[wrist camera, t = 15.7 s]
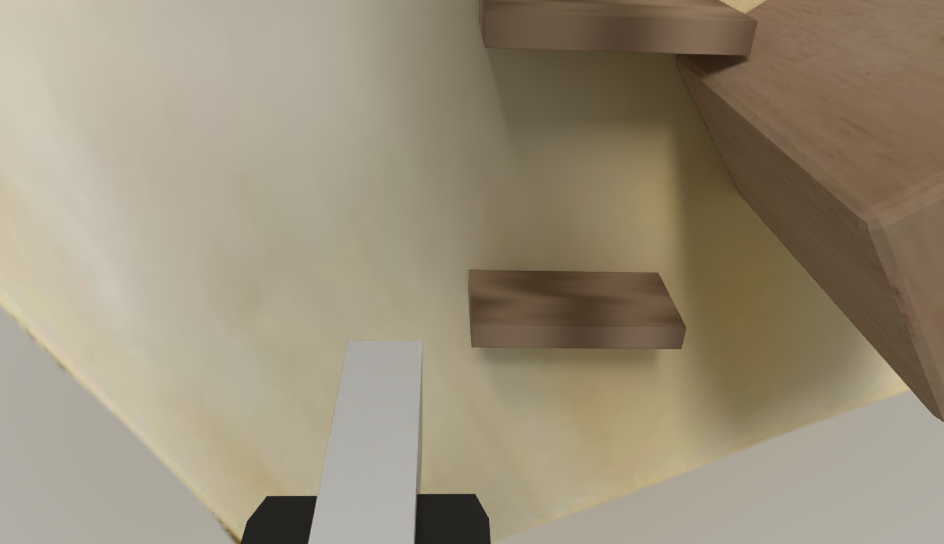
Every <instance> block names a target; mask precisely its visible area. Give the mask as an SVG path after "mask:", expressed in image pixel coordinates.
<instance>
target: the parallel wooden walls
mask: <svg viewBox="0 0 944 544" xmlns="http://www.w3.org/2000/svg"><path fill="white" fill-rule="evenodd" d="M479 22H480V27H481V31H482V36H483V41H484V45H485V48H510V49H544V50H578V51H613V52H647V53H681V54H716V55H750V53H751V48H752V44H753V40H754V36H755V31H756V27H757V23H758V21H757V20H755V19H753V18H751V17H749V16H748V15H746V14H744V13H742V12H740V11H738V10H736V9H734V8H732V7H730V6H729V5H727V4H725V3H723V2H721V1H719V0H480V11H479ZM468 294H469V311H470V328H471V346H472V347H490V348H612V349H681V348H682V344H683V339H684V335H685V331H686V326H685V324H684V322H683V320H682V318H681V316H680V314H679V312H678V310H677V309H676V307H675V305H674V303H673V301H672V299H671V297H670V295H669V293H668V291H667V289H666V287H665V285H664V283H663V281H662V279H661V277H660V276H659V274H658V273H628V272H555V271H481V270H469V286H468Z"/></svg>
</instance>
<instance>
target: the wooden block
mask: <svg viewBox="0 0 944 544" xmlns="http://www.w3.org/2000/svg"><path fill="white" fill-rule="evenodd" d="M746 15H748V16H749V17H751V18H753V19H755V20H757V21H758V23H757V27H756V31H755V36H754V40H753V44H752V48H751V53H750V55H716V54H680V55H679V56H678V57H677V67H678V69H679V71H680V73H681V75H682V77H683V79H684V81H685V83H686V86H687V88H688V90H689V92H690V94H691V96H692V98H693V100H694V102H695V104H696V106H697V108H698V110H699V112H700V114H701V116H702V118H703V120H704V122H705V124H706V126H707V128H708V130H709V132H710V134H711V137H712V139H713V141H714V143H715V145H716V147H717V149H718V151H719V153H720V155H721V157H722V159H723V161H724V163H725V165H726V167H727V169H728V171H729V173H730V175H731V177H732V179H733V181H734V183H735V185H736V188H737V190H738V192H739V194H740V195H741V196H742V198H743V199H744V200H745V201H746V202H747V203H748V204H749V205H750V207H751V208H752V209H753V210H754V211H755V212H756V213H757V215H758V216H759V217H760V218H761V219H762V220H763V221H764V223H765V224H766V225H767V226H768V227H769V228H770V229H771V231H772V232H773V233H774V234H775V235H776V236H777V237H778V239H779V240H780V241H781V242H782V243H783V244H784V245H785V247H786V248H787V249H788V250H789V251H790V252H791V253H792V255H793V256H794V257H795V258H796V259H797V260H798V261H799V263H800V264H801V265H802V266H803V267H804V268H805V269H806V271H807V272H808V273H809V274H810V275H811V276H812V277H813V279H814V280H815V281H816V282H817V283H818V284H819V285H820V287H821V288H822V289H823V290H824V291H825V292H826V293H827V294H828V296H829V297H830V298H831V299H832V300H833V301H834V302H835V304H836V305H837V306H838V307H839V308H840V309H841V310H842V312H843V313H844V314H845V315H846V316H847V317H848V318H849V320H850V321H851V322H852V323H853V324H854V325H855V326H856V328H857V329H858V330H859V331H860V332H861V333H862V334H863V336H864V337H865V338H866V339H867V340H868V341H869V342H870V344H871V345H872V346H873V347H874V348H875V349H876V350H877V352H878V353H879V354H880V355H881V356H882V357H883V358H884V360H885V361H886V362H887V363H888V364H889V365H890V366H891V368H892V369H893V370H894V371H895V372H896V373H897V374H898V375H899V377H900V378H901V379H902V380H903V381H904V382H905V383H906V385H907V386H908V387H909V388H910V389H911V390H912V391H913V393H914V394H915V395H916V396H917V397H918V398H919V399H920V401H921V402H922V403H923V404H924V405H925V406H926V407H927V409H928V410H929V411H930V412H931V413H932V414H933V415H934V416H935V417H937V418H938V419H940V420H941V421H943V422H944V0H767V1H765V2H764V3H762V4H760V5H759V6H757V7H755V8H754V9H752V10H751V11H749V12H747V13H746Z"/></svg>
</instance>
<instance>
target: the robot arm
mask: <svg viewBox="0 0 944 544" xmlns="http://www.w3.org/2000/svg"><path fill="white" fill-rule="evenodd" d="M421 460H422V341H348V343H347V348H346V354H345V359H344V364H343V369H342V374H341V379H340V384H339V389H338V394H337V399H336V405H335V410H334V415H333V420H332V425H331V430H330V435H329V440H328V445H327V450H326V455H325V461H324V466H323V471H322V476H321V481H320V486H319V491H318V496H267V497H266V498H265V499H264V501H263V502H262V503H261V504H260V506H259V507H258V508H257V509H256V511H255V512H254V513H253V515H252V516H251V517H250V518H249V520H248V521H247V524H246V527H245V530H244V534H243V537H242V541H241V544H491V542H490V527H489V518H488V516H487V514H486V513H485V511H484V509H483V507H482V505H481V504H480V502H479V500H478V498H477V497H476V495H475V494H420V488H421Z"/></svg>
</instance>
